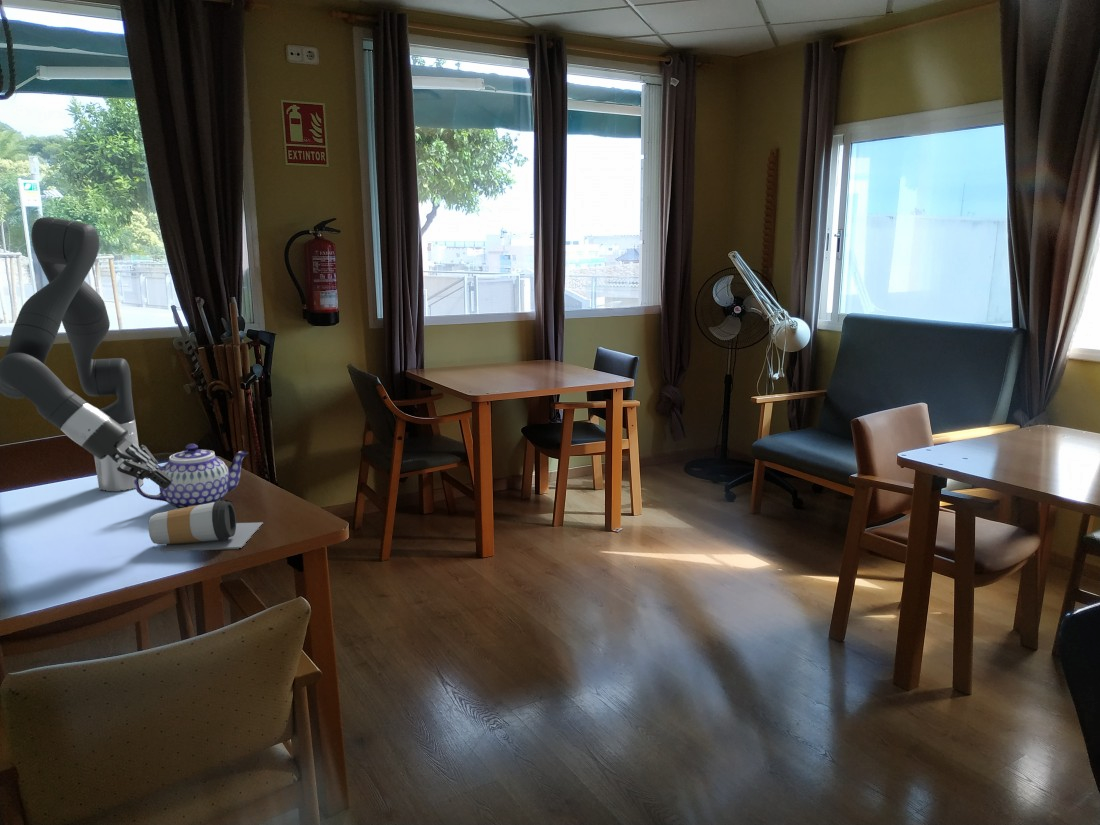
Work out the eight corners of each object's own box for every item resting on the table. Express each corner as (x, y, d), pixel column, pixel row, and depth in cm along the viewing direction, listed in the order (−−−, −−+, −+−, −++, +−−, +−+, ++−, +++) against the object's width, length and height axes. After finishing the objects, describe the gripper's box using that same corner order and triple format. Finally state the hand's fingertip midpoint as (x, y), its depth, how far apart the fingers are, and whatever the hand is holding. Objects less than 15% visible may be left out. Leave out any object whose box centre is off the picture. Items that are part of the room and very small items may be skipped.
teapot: (139, 524, 166) (131, 459, 163) (136, 504, 179) (128, 444, 175) (258, 504, 178) (252, 443, 175) (247, 487, 191) (242, 430, 188)
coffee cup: (161, 510, 157) (235, 500, 159) (164, 549, 156) (238, 539, 157) (144, 508, 149) (222, 497, 151) (146, 550, 148) (225, 539, 149)
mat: (160, 551, 150) (160, 549, 150) (189, 526, 164) (188, 524, 164) (241, 548, 151) (241, 546, 151) (263, 524, 165) (263, 522, 165)
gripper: (96, 424, 141) (174, 481, 147) (118, 410, 154) (189, 462, 159) (69, 453, 141) (148, 509, 147) (93, 436, 154) (165, 488, 159)
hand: (169, 484), depth 153 cm, fingers closed
